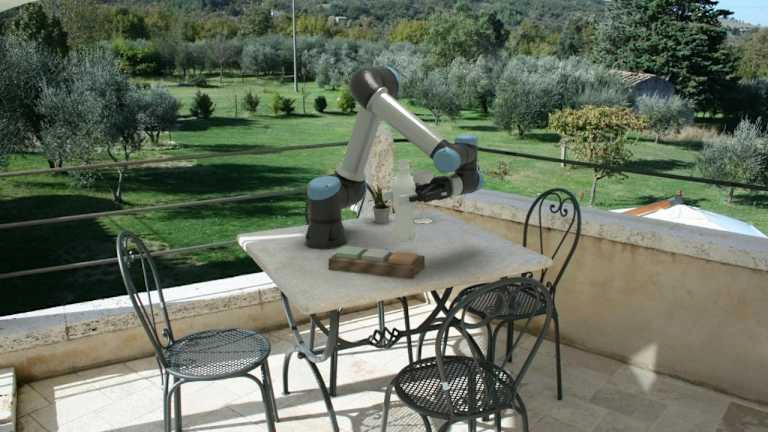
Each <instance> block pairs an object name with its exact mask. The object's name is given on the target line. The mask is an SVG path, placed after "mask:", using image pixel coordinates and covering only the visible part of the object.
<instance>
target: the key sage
mask: <svg viewBox="0 0 768 432" xmlns="http://www.w3.org/2000/svg"><path fill="white" fill-rule="evenodd" d="M365 250H366V248H365V247H361V246H350V245H343V247H342V248H339V250H337V251H336V252H335V254H336V257H338V258H347V259H356V260H357V259H358V258H360V257H361V256H362V255H363V254H364V253H365Z"/></svg>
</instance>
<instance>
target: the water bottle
mask: <svg viewBox="0 0 768 432" xmlns="http://www.w3.org/2000/svg"><path fill="white" fill-rule="evenodd" d="M409 161H410V160H409V159H399V160H398V166H397V169H398V172H397V174H396V176H395V178H394V179H393V182H392V187H391V190H393V199H392V200H393V201H392V207H393V209H394V210H393V211H394V213H395V214H394V215H395V222H394V227H393V230H392V235H393V238H394V239H395V240H396V241H397V242H399V241H400V242H402V243H406V242H408V241H410V242H412V241H414V239H416V238H415V237H416V235H417V230H416V229H417V228H416V226H415V222H414V212H415V209H416V207H417V202H414V203H410V204H406V205H401V206H400V205H399V196H403V195H407V194H412V193H415V189H416V186H415V183H414V181H413V176H412V175H411V173H410V165H409V164H410V163H409Z"/></svg>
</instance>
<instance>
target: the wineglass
mask: <svg viewBox="0 0 768 432" xmlns="http://www.w3.org/2000/svg"><path fill="white" fill-rule="evenodd" d="M433 178H434V171H432V170H423V169H422V170H421V169H420V170H415V171H413V172H412V179H413V181H414V183H419V185H422V184H425V183H430V181H431V180H432V179H433ZM421 205H422V207H421V208H422V209H421V217H422V218H416V219H417V220H416V219H414V220H415V221H414V220H413V223H416V224H421V223H425V224H431V223H432V222H433V220H432V219H431V220H430V218H425V202H423V201H422V202H421ZM430 222H431V223H430Z"/></svg>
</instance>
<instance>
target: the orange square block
mask: <svg viewBox="0 0 768 432" xmlns="http://www.w3.org/2000/svg"><path fill="white" fill-rule="evenodd" d="M393 253H394V254H392V255H391V256H390V257H389V263H393V264H403V265H412V264H413V263H414V262H415V261H416V260H417V259H418V255H419V253H417V252H410V251H400V250H399V251H398V250H396V251H394V252H393Z"/></svg>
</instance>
